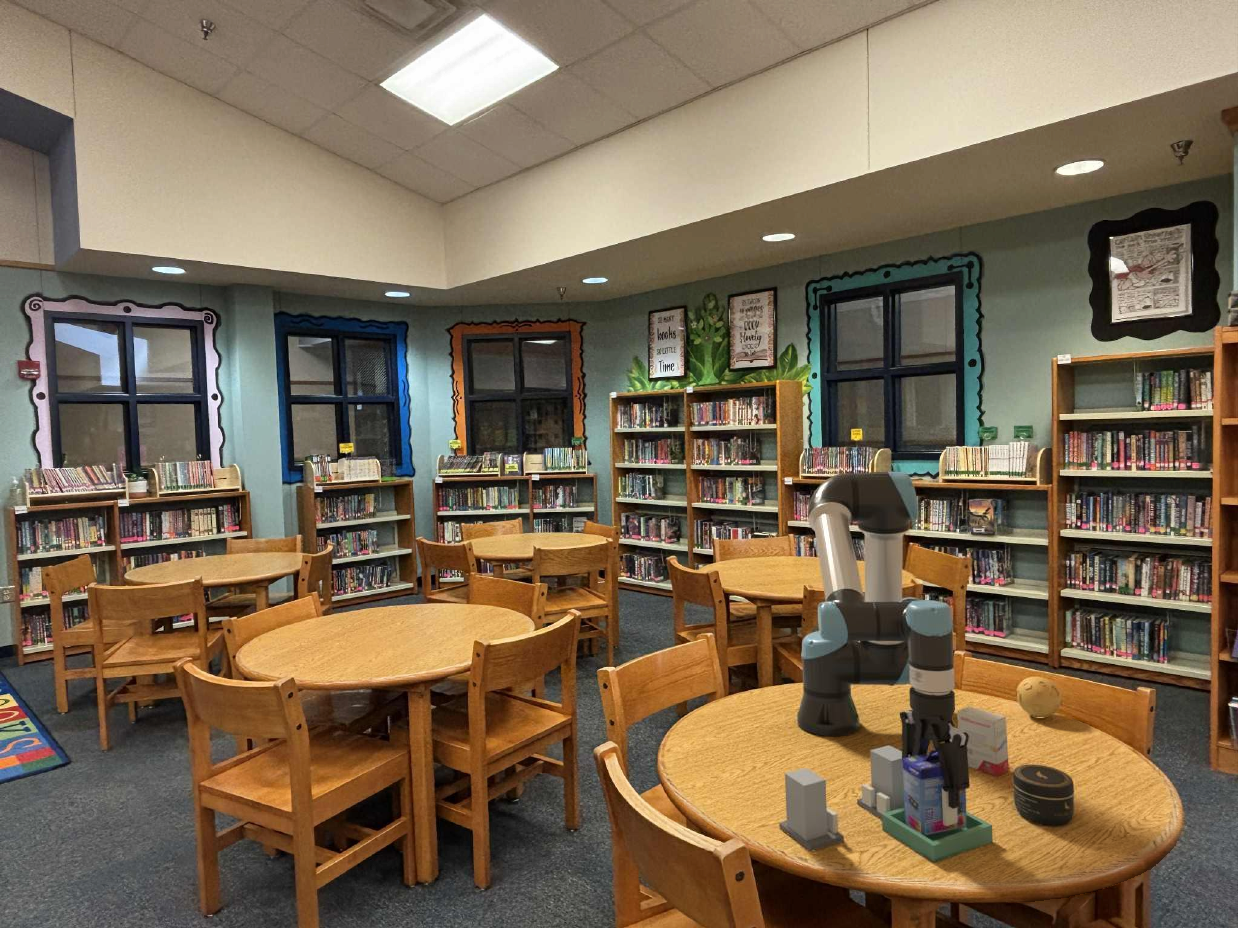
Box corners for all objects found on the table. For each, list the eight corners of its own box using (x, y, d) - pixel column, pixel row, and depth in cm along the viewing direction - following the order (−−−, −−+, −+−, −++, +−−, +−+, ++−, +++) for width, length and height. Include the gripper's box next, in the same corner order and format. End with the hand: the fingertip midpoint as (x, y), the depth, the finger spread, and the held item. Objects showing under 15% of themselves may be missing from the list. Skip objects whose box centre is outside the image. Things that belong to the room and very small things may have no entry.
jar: (1050, 834, 131) (1049, 792, 131) (1001, 809, 140) (1000, 770, 140) (1087, 820, 135) (1086, 779, 135) (1037, 797, 144) (1036, 759, 144)
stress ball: (1026, 711, 190) (1000, 690, 188) (1052, 683, 189) (1026, 661, 187) (1051, 732, 180) (1023, 710, 179) (1078, 703, 179) (1051, 680, 178)
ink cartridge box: (923, 838, 128) (919, 755, 128) (903, 823, 133) (898, 744, 133) (970, 827, 131) (965, 746, 131) (948, 813, 136) (944, 736, 136)
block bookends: (779, 827, 137) (777, 770, 137) (886, 795, 148) (884, 741, 147) (810, 851, 129) (807, 790, 129) (921, 815, 140) (919, 758, 139)
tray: (882, 829, 135) (881, 813, 135) (938, 811, 141) (937, 796, 141) (934, 862, 124) (933, 845, 124) (992, 841, 130) (992, 824, 130)
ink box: (1010, 770, 156) (1008, 716, 156) (997, 777, 153) (995, 722, 153) (971, 757, 163) (969, 704, 163) (958, 763, 160) (956, 710, 160)
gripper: (877, 677, 139) (881, 797, 139) (959, 708, 121) (963, 845, 122) (907, 670, 142) (911, 788, 142) (991, 700, 124) (995, 834, 125)
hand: (935, 814), depth 132 cm, fingers closed on ink cartridge box, 6 cm apart
